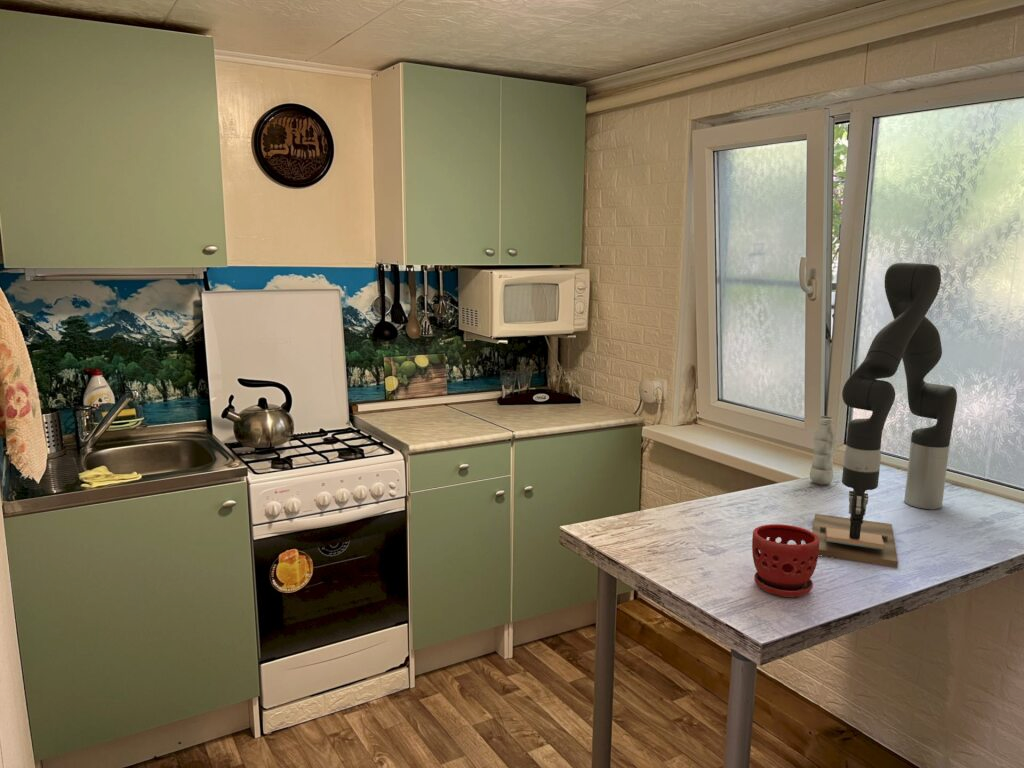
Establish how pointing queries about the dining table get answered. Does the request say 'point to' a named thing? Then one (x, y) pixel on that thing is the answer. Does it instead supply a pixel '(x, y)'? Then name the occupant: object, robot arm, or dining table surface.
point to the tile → (864, 541)
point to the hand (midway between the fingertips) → (854, 537)
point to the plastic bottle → (823, 452)
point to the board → (856, 552)
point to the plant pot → (784, 559)
